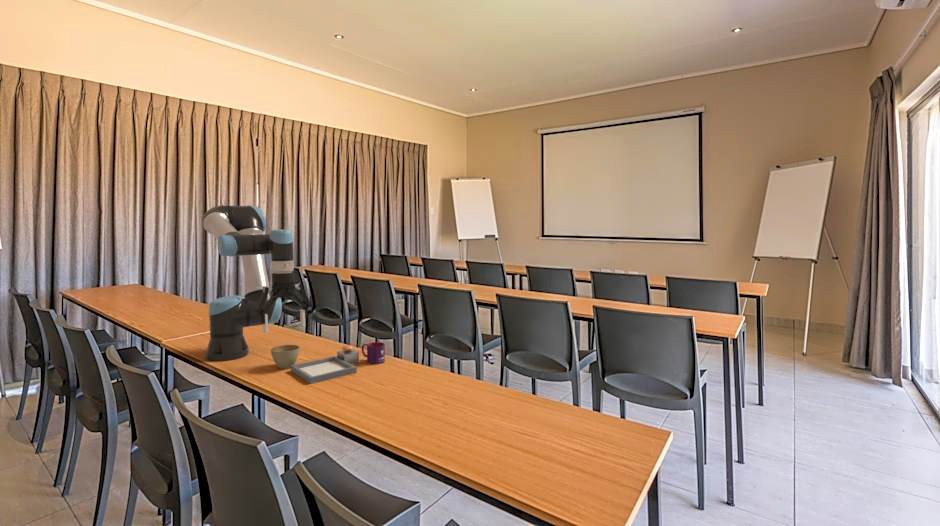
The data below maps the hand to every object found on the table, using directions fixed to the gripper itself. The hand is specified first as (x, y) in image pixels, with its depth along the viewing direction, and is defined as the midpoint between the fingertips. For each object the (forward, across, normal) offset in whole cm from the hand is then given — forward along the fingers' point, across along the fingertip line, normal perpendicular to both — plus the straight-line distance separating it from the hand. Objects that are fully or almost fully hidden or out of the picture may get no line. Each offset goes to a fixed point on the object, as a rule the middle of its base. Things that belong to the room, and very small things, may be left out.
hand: (284, 329), depth 170 cm
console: (+14, +20, -10) cm, 26 cm away
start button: (+12, +20, -10) cm, 25 cm away
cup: (+15, +28, -15) cm, 35 cm away
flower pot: (+14, 0, 0) cm, 15 cm away
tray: (+14, +8, -14) cm, 22 cm away
